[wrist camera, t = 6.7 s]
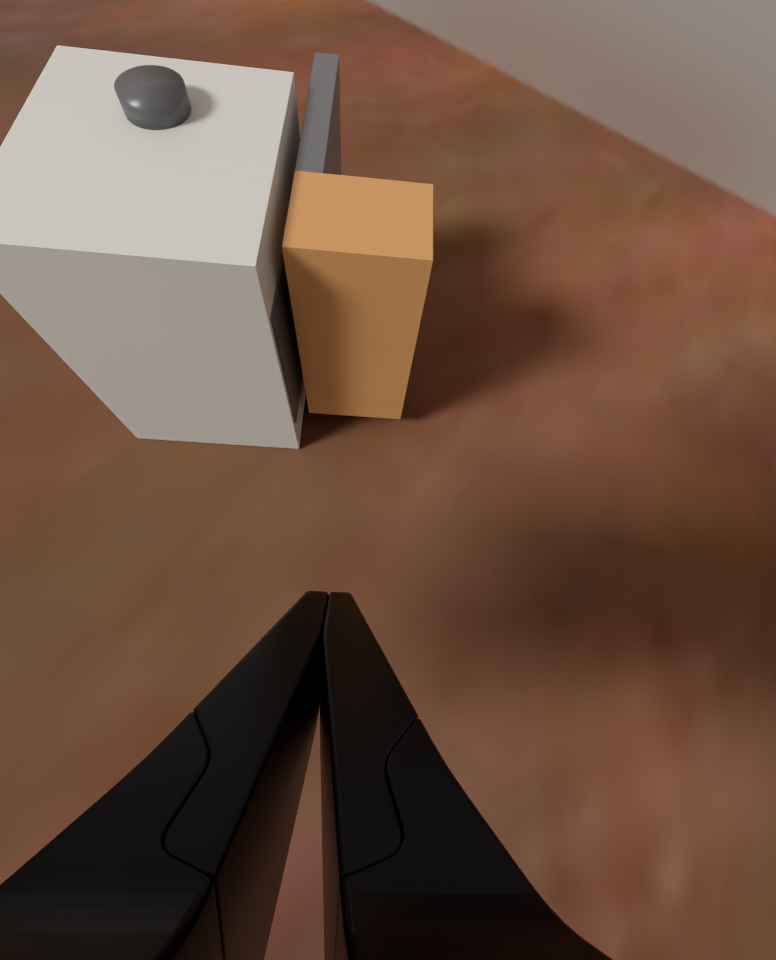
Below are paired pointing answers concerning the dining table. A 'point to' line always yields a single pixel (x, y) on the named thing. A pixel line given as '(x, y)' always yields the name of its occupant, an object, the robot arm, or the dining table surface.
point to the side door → (353, 267)
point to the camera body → (159, 240)
